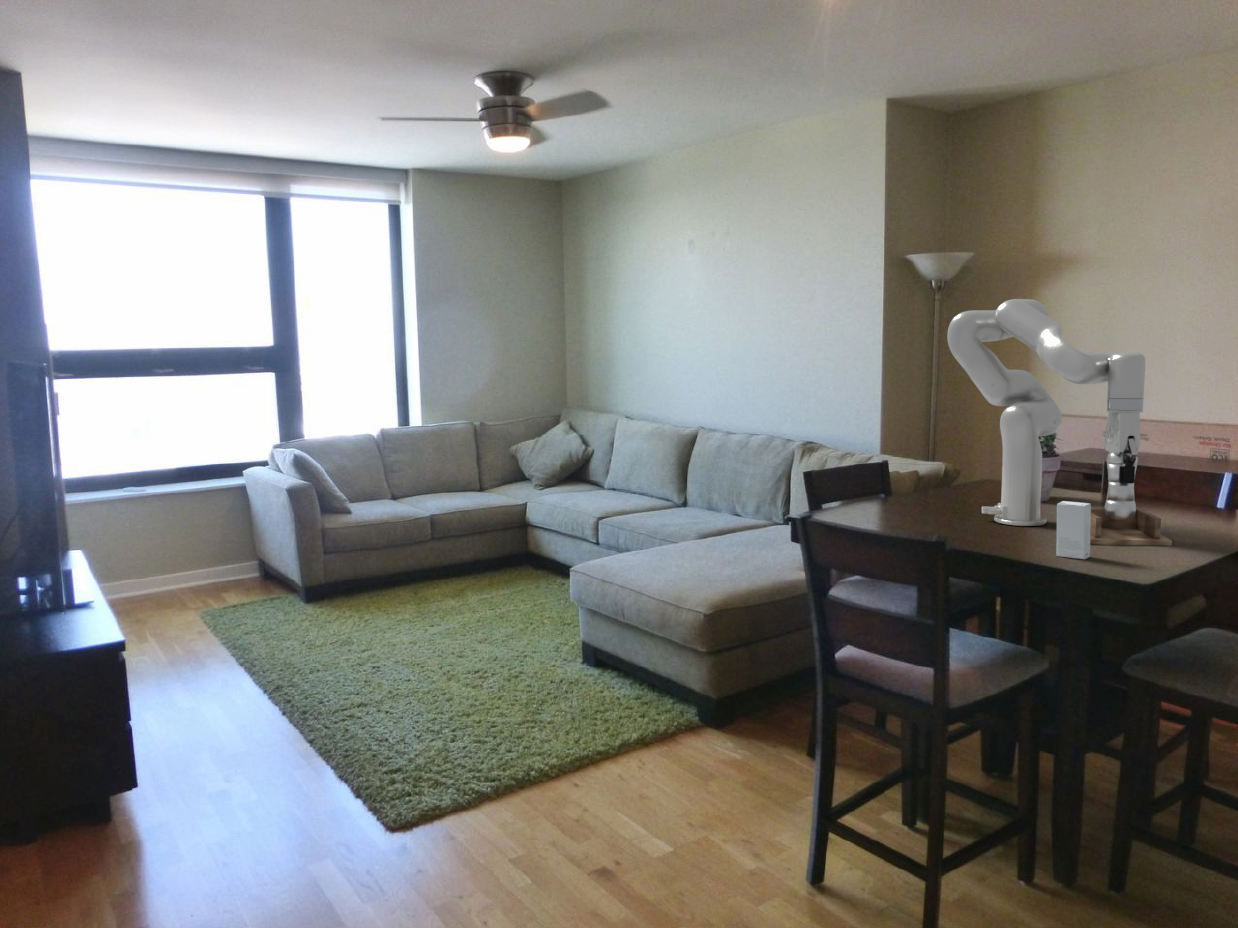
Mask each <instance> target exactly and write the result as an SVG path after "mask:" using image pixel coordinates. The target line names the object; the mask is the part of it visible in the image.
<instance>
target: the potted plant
mask: <svg viewBox="0 0 1238 928" xmlns="http://www.w3.org/2000/svg"><path fill="white" fill-rule="evenodd" d="M1057 435H1059V436H1060V434H1058V433H1057ZM1038 438H1039V442H1040V445H1041V449H1042V479H1041V502H1047V501H1048V500H1049V499H1050V497H1051V494H1052V490H1053V487H1054V483H1055V478H1056V475H1057V472H1058V471H1059V470H1060V469H1061V463H1062V462H1061V461H1062V456H1061V455H1060V452H1059V451H1057V450H1055V449H1058V450H1061V451H1063V450H1062V449H1061V448H1059V447H1057V445H1056V444H1054V442H1055V443H1060V444H1063V445H1065V443H1062V442H1059V441H1064V440H1062V439H1060V438H1058V437H1057V436H1056V434H1055V433H1053V434H1051V435H1047V436H1041V437H1038ZM1056 440H1059V441H1056ZM1070 444H1071V443H1070ZM1071 445H1073V444H1071ZM1062 454H1064V455H1065V453H1062Z"/></svg>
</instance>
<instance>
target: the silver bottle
mask: <svg viewBox="0 0 1238 928" xmlns="http://www.w3.org/2000/svg"><path fill="white" fill-rule="evenodd" d="M1124 453H1129V451H1124ZM1125 459H1126V457H1125ZM1138 461H1139V458H1138V455H1137V456H1136V460H1135V463H1136V466H1135V474H1136V471H1137V467H1138ZM1120 466H1121V457H1120V454H1113V453H1112V452H1108V454H1107V456H1106V468H1107V476H1108V477H1107V482H1108V483H1107V484H1108V486H1107V493H1106V500H1105V503H1104V509H1105V514H1106V516H1107V517H1108V518H1112V519H1115V520H1128V519H1132V518H1133V517H1134V516H1135V513H1136V509H1137V507H1136V506H1137V505H1136V501H1135V482H1134V483H1132V484H1131V483H1119V467H1120ZM1135 479H1136V477H1135V478H1134V481H1135Z"/></svg>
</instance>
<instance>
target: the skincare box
mask: <svg viewBox="0 0 1238 928" xmlns="http://www.w3.org/2000/svg"><path fill="white" fill-rule="evenodd" d="M1091 508H1092V504H1091V503H1088V502H1079V501H1066V500H1063V501H1060V502H1058V503H1057V504H1056V549H1055V550H1056V554H1055V555H1056V556H1057V557H1063V558H1070V559H1071V558H1072V559H1077V560H1078V559H1079V560H1086V559H1088V558H1090V556H1091V544H1090V526H1091Z"/></svg>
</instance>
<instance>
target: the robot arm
mask: <svg viewBox="0 0 1238 928" xmlns="http://www.w3.org/2000/svg"><path fill="white" fill-rule="evenodd" d="M1062 334H1063V327H1062V324H1061V323H1059V322H1058V321H1056V320H1054V319H1052V318H1051V317H1049V316H1048V311H1047V309H1046V306H1045V305H1044V304H1043V303H1042V302H1040V301H1038V300H1036V299H1031V298H1030V299H1029V298H1011V299H1009V300H1005V301H1004V302H1002V303H1001V304H1000V305H999V306H998V307H997V308H996V309H994V310H993V309H991V310H989V309H987V310H986V309H985V310H983V309H982V310H979V309H977V310H975V309H974V310H966V311H962V312H960V313H958V314H956V315H955V316H954V317H953V318H952V319H951V321H950V323H949V325H948V329H947V337H946V338H947V345H948V347H949V350H950V352H951V354H952V356H953V357H954V358H955V360H956V361H957V362H958V364H959V365H960V366H961V368H963V369H964V371H965V372H966V373H967V375H968V377H969V378H970V380H971V381H972V382H973V383H974V385H975V386H976V388H977V389H978V390H979V391H980V393H981V395H982V396H983V397H984V399H985V400H986V401H987V402H988V403H989V404H990V405H993V406H996V407H1006V408H1005V409H1004V410H1003V411H1002V413H1001V416H1000V420H999V429H1000V436H1001V445H1002V465H1001V466H1002V467H1001V490H1000V491H1001V493H1000V494H1001V498H1000V502H998V503H997V505H996V504H995V505H994V506H989V505H988V506H986V505H985V506H982V505H981V514H988V515H994V516H993V520H994V521H995V523H999V524H1003V525H1008V526H1017V527H1018V526H1019V527H1035V526H1036V527H1037V526H1044V525H1045V524H1047V518H1046V517H1044V516H1042V515H1041V502H1042V501H1041V479H1042V449H1041V445H1040V442H1039V438H1038V437H1041V436H1047V435H1051V434H1053V433H1054V434H1056V432H1058V430H1059V429H1060V428H1061V425H1062V422H1063V416H1062V411H1061V409H1060V407H1059V406H1058V404H1057V402H1056V401H1055V400H1054V399H1053V397H1052V396H1051V394H1049V392H1047V390H1046V389H1045V388H1044V386H1043V385H1042V383H1041V382H1040V381H1039V380H1038V379H1037V378H1036V376H1034V375H1033V374H1032V373H1030V372H1028V371H1026V370H1024V369H1009V368H1007V367H1006V366H1004V364H1003V363H1002V362H1001V360H1000V359H999V358H998V356H997V355H996V354H995V353H994V352H993V351H992V350H991V349H990V348H988V347H987V346H985V344H984V343H986V342H990V343H991V342H999V341H1002V340H1007V339H1010V338H1015V339H1017V340H1018V341H1020V342H1021V343H1023V344H1025V345H1026V346H1027V347H1028V348H1031V349H1032V350H1033V351H1035V352H1036V353H1037V355H1038V357H1039V359H1040V360H1041V362H1042V363H1043V364H1044V365H1045V366H1046V367H1047V368H1048V369H1050V370H1051V371H1052V372H1054V373H1056V374H1057V375H1058V376H1059V377H1061V378H1063V379H1065V380H1067V381H1068V382H1070V383H1073V384H1075V385H1090V384H1091V385H1092V384H1093V385H1094V384H1105V383H1107V395H1106V396H1107V399H1106V401H1107V402H1106V412H1107V414H1108V415H1107V418H1106V427H1105V435H1104V436H1105V437H1104V445H1103V448H1104V450H1105V451H1106V452H1108V453H1110V452H1112V453H1113V454H1120V457H1121V466H1120V467H1119V483H1131V484H1132V483H1134V484H1135V480H1134V478H1135V479H1136V473H1135V466H1136V463H1135V460H1136V456H1137V457H1138V453H1139V451H1140V445H1141V415H1140V413H1143V412H1144V400H1145V399H1144V397H1145V380H1146V379H1145V377H1146V356H1145V355H1144V354H1142V353H1139V352H1122V353H1121V352H1120V353H1117V352H1116V353H1111V352H1105V351H1104V352H1103V351H1098V352H1097V351H1094V352H1083V351H1080V350H1079V349H1077V348H1075V347H1074V346H1072V345H1071V344H1069V343H1067V342H1066V341H1065V340H1064V339H1063V338H1062ZM1124 451H1129V453H1124ZM1125 457H1126V459H1125Z"/></svg>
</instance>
